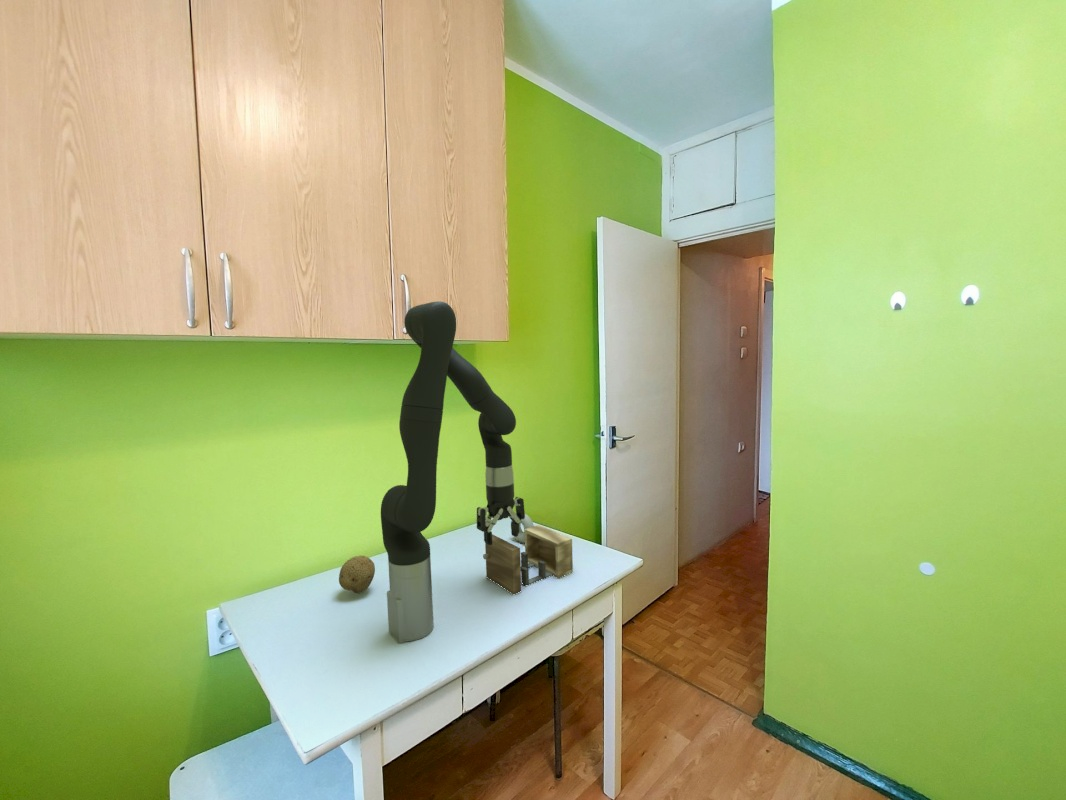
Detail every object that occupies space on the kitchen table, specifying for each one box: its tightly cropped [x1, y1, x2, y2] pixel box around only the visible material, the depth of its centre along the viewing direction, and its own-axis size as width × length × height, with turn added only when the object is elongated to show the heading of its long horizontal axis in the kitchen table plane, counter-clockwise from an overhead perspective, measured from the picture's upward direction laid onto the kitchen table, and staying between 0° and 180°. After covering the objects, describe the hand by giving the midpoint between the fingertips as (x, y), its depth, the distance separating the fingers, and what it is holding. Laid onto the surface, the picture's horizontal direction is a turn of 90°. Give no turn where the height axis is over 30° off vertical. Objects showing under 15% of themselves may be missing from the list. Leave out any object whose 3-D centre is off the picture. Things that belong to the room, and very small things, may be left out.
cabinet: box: [520, 524, 574, 586], centre depth 133 cm, size 15×15×10 cm
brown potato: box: [338, 555, 376, 594], centre depth 123 cm, size 9×9×10 cm
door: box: [482, 533, 522, 595], centre depth 125 cm, size 4×13×12 cm, turn 39°
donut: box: [510, 513, 535, 544], centre depth 155 cm, size 10×4×10 cm, turn 45°
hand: (502, 539), depth 126 cm, fingers open, 8 cm apart
